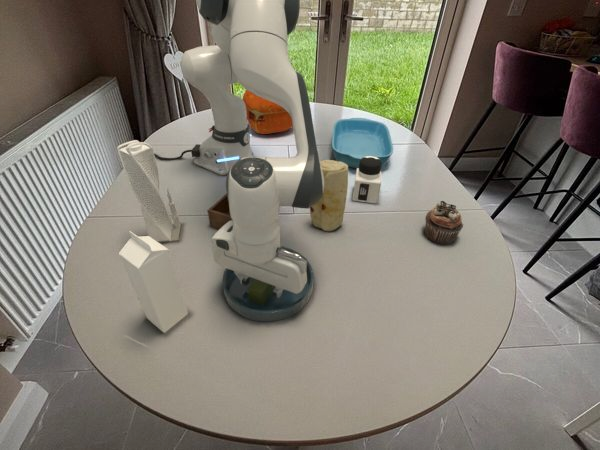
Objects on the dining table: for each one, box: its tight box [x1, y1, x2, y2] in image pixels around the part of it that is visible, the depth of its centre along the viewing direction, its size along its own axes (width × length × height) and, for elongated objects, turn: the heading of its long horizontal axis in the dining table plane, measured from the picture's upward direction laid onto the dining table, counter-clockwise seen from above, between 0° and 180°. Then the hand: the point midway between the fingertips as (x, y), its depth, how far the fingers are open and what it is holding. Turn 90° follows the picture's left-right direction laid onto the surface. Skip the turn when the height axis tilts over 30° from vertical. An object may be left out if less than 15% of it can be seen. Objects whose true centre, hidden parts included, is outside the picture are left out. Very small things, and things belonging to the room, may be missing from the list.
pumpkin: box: [242, 89, 293, 135], centre depth 141 cm, size 23×23×20 cm
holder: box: [207, 193, 232, 230], centre depth 94 cm, size 13×13×6 cm
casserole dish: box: [331, 117, 394, 169], centre depth 129 cm, size 37×22×7 cm, turn 174°
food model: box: [309, 159, 349, 232], centre depth 88 cm, size 10×7×20 cm
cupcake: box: [424, 200, 464, 245], centre depth 89 cm, size 10×10×10 cm
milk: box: [118, 230, 189, 334], centre depth 63 cm, size 6×6×22 cm
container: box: [351, 156, 383, 204], centre depth 103 cm, size 8×8×13 cm
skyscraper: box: [116, 139, 182, 244], centre depth 81 cm, size 8×8×28 cm
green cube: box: [248, 279, 273, 305], centre depth 73 cm, size 4×5×4 cm
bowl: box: [221, 245, 315, 323], centre depth 76 cm, size 20×20×4 cm
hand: (261, 288), depth 73 cm, fingers open, 7 cm apart
